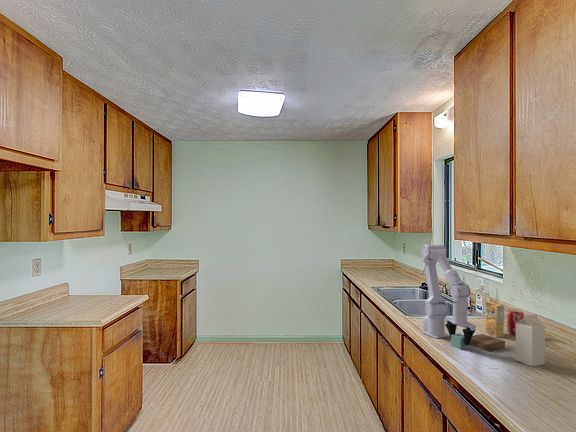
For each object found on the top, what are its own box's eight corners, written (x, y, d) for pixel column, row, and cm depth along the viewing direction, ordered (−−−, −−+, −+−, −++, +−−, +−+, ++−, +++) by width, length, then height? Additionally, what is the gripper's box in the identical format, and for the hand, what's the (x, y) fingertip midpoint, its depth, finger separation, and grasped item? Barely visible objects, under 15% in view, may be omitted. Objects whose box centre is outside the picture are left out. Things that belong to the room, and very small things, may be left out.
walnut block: (466, 344, 171) (466, 336, 171) (482, 341, 175) (482, 333, 175) (487, 352, 161) (487, 344, 161) (504, 349, 165) (504, 341, 165)
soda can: (527, 335, 183) (527, 311, 183) (516, 337, 181) (517, 312, 181) (513, 331, 190) (514, 307, 190) (503, 332, 187) (504, 309, 187)
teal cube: (450, 345, 167) (451, 334, 167) (458, 344, 169) (459, 333, 169) (460, 349, 163) (460, 338, 163) (468, 348, 165) (468, 336, 165)
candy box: (484, 331, 189) (485, 301, 189) (492, 331, 189) (492, 301, 189) (496, 337, 180) (496, 305, 180) (504, 337, 180) (504, 305, 180)
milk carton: (515, 360, 151) (515, 313, 151) (527, 358, 154) (528, 311, 154) (532, 367, 144) (532, 317, 144) (544, 364, 147) (545, 316, 147)
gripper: (440, 308, 171) (440, 338, 171) (467, 316, 158) (467, 348, 158) (451, 307, 174) (451, 336, 174) (479, 314, 161) (478, 346, 161)
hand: (459, 342), depth 166 cm, fingers open, 7 cm apart
